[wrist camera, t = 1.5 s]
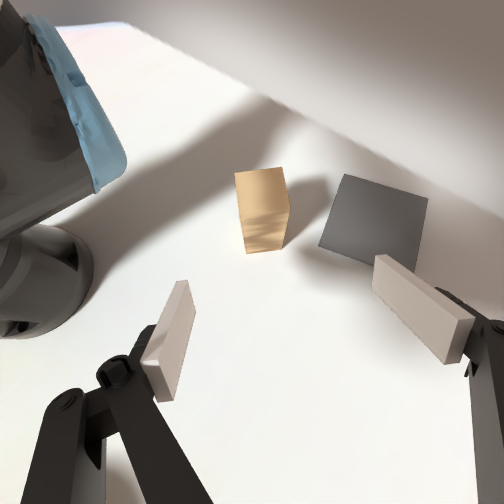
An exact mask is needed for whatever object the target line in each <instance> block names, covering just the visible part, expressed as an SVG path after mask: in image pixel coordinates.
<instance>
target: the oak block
mask: <svg viewBox="0 0 504 504" xmlns="http://www.w3.org/2000/svg"><path fill="white" fill-rule="evenodd" d="M234 175H235V183H236V192H237V200H238V208H239V216H240V222H241V227H242V233H243V239H244V244H245V250H246V254H251V253H258V252H266V251H274V250H282V245H283V241H284V236H285V232H286V227H287V223H288V218H289V214H290V209H291V207H290V203H289V198H288V193H287V188H286V184H285V179H284V174H283V169H282V167H277V168H269V169H261V170H253V171H246V172H238V173H234Z"/></svg>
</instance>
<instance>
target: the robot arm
mask: <svg viewBox="0 0 504 504" xmlns="http://www.w3.org/2000/svg"><path fill="white" fill-rule="evenodd" d="M126 166H127V157H126V154H125V151H124V149H123V147H122V145H121V142H120V140H119V138H118V136H117V134H116V132H115V131H114V129H113V127H112V125H111V123H110V121H109V119H108V117H107V116H106V114H105V112H104V110H103V108H102V106H101V105H100V103H99V101H98V99H97V98H96V96H95V94H94V92H93V91H92V89H91V87H90V86H89V85H88V83H87V82H86V81H85V77H84V76H83V74H82V72H81V71H80V69H79V67H78V65H77V63H76V61H75V59H74V58H73V56H72V54H71V53H70V51H69V49H68V48H67V46H66V44H65V43H64V41H63V39H62V38H61V36H60V35H59V33H58V32H57V30H56V29H55V27H54V26H53V25H52V24H51V22H50V21H49V20H48V19H47V18H46V17H44V16H41V15H32V14H30V13H28V14H26V15H24V16H23V19H22V18H21V17H20V16H19V14H18V13H17V12H16V10H15V9H14V8H13V6H12V5H11V4H10V2H9V1H8V0H0V339H28V338H33V337H37V336H40V335H42V334H45V333H47V332H49V331H51V330H53V329H54V328H56V327H58V326H59V325H60V324H62V323H63V322H64V321H66V320H67V319H68V318H69V317H70V316H71V315H72V314H73V313H74V312H75V311H76V309H77V308H78V307H79V306H80V304H81V303H82V301H83V300H84V298H85V296H86V294H87V292H88V290H89V287H90V284H91V281H92V276H93V260H92V256H91V253H90V251H89V249H88V247H87V246H86V244H85V243H84V242H83V241H82V240H80V239H79V238H78V237H76V236H74V235H72V234H70V233H69V232H67V231H65V230H63V229H60V228H57V227H53V226H48V225H42V224H38V223H40V222H41V221H43V220H45V219H47V218H49V217H51V216H52V215H54V214H56V213H58V212H60V211H62V210H63V209H65V208H67V207H69V206H71V205H73V204H74V203H76V202H78V201H80V200H82V199H83V198H85V197H87V196H89V195H91V194H93V193H94V194H97V193H98V192H99V191H100V189H101V188H102V187H104V186H105V185H107V184H108V183H110V182H112V181H113V180H115V179H116V178H118V177H120V176H121V175H122V174H123V173H124V172H125V170H126ZM372 290H373V291H374V292H375V293H376V294H377V295H378V296H379V297H380V298H381V299H382V300H383V301H384V303H385V304H386V305H387V306H388V307H389V308H390V309H391V310H392V311H393V312H394V313H395V314H396V315H397V316H398V317H399V318H400V319H401V320H402V321H403V322H404V323H405V324H406V326H407V327H408V328H409V329H410V330H411V331H412V332H413V333H414V334H415V335H416V336H417V337H418V338H419V339H420V340H421V341H422V342H423V343H424V344H425V345H426V346H427V347H428V349H429V350H430V351H431V352H432V353H433V354H434V355H435V356H436V357H437V358H438V359H439V360H440V361H441V362H442V363H443V364H444V365H446V364H453V363H460V360H461V358H462V355H463V353H464V354H465V355H466V356H467V357H468V358H469V359H470V361H469V364H468V366H467V369H466V372H465V375H464V377H467V376H468V374H469V384H470V397H471V411H472V425H473V438H474V452H475V465H476V479H477V492H478V504H504V321H500V320H489V319H488V318H486V317H485V316H483V315H482V314H480V313H479V312H477V311H476V310H474V309H473V308H471V307H470V306H468V305H467V304H465V303H463V302H462V301H461V300H460V299H457V297H455V296H454V295H452V294H451V293H449V292H448V291H445V290H443V289H440V288H438V287H434V288H433V287H432V286H430V285H429V284H428V283H426V282H425V281H423V280H422V279H421V278H419V277H418V276H416V275H415V274H414V273H412V272H411V271H409V270H408V269H406V268H405V267H404V266H402V265H401V264H399V263H398V262H397V261H395V260H394V259H392V258H391V257H390V256H388V255H387V254H384V255H376V256H375V263H374V272H373V280H372ZM195 314H196V310H195V306H194V302H193V299H192V295H191V291H190V287H189V284H188V280H183V281H176V283H175V286H174V288H173V290H172V292H171V294H170V297H169V299H168V301H167V303H166V305H165V307H164V310H163V312H162V314H161V316H160V318H159V321H158V323H157V324H155V325H148V326H147V327H146V328H145V329H144V330H143V331H142V332H141V333H140V335H139V337H138V339H137V341H136V343H135V345H134V348H132V350H131V352H130V354H129V356H127V355H117V356H114V357H112V358H110V359H109V360H107V361H106V362H104V363H103V364H102V365H101V366H100V367H99V369H98V371H97V373H96V378H97V380H98V382H99V384H100V386H101V387H100V388H98V389H95V390H93V391H90V392H88V393H84V392H83V390H82V389H80V388H73V389H69V390H67V391H65V392H63V393H61V394H60V395H59V396H57V397H56V398H55V399H54V400H53V401H52V402H51V403H50V404H49V405H48V407H47V409H46V411H45V413H44V417H43V421H42V424H41V428H40V432H39V436H38V439H37V443H36V447H35V451H34V454H33V458H32V462H31V466H30V469H29V473H28V477H27V481H26V484H25V488H24V492H23V496H22V499H21V503H20V504H105V500H106V437H109V436H111V435H113V434H115V433H117V432H119V433H120V435H121V438H122V441H123V443H124V446H125V448H126V451H127V454H128V456H129V459H130V462H131V464H132V467H133V470H134V472H135V475H136V477H137V480H138V483H139V485H140V488H141V491H142V493H143V496H144V498H145V501H146V504H213V502H212V500H211V498H210V497H209V495H208V493H207V492H206V490H205V488H204V486H203V485H202V483H201V481H200V480H199V478H198V476H197V474H196V473H195V471H194V469H193V468H192V466H191V464H190V462H189V461H188V459H187V457H186V456H185V454H184V452H183V450H182V449H181V447H180V445H179V444H178V442H177V440H176V439H175V437H174V435H173V433H172V432H171V430H170V428H169V427H168V425H167V423H166V421H165V420H164V418H163V416H162V415H161V413H160V411H159V409H158V408H157V406H156V404H155V403H154V401H153V397H154V396H155V398H156V400H157V402H158V403H159V402H167V401H174V397H175V393H176V389H177V385H178V381H179V377H180V373H181V369H182V365H183V361H184V357H185V353H186V349H187V345H188V341H189V337H190V334H191V330H192V326H193V322H194V318H195Z"/></svg>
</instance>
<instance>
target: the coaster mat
mask: <svg viewBox="0 0 504 504" xmlns="http://www.w3.org/2000/svg"><path fill="white" fill-rule="evenodd" d="M427 203H428V198H425V197H421V196H418V195H414V194H411V193H408V192H404V191H401V190H398V189H394V188H391V187H388V186H384V185H381V184H378V183H374V182H371V181H368V180H364V179H361V178H358V177H354V176H351V175H347V174H344V176H343V178H342V180H341V183H340V186H339V188H338V191H337V194H336V197H335V200H334V203H333V206H332V208H331V211H330V214H329V217H328V220H327V223H326V226H325V228H324V231H323V234H322V237H321V240H320V243H319V245H318V246H320V247H323V248H325V249H328V250H331V251H334V252H336V253H339V254H342V255H345V256H348V257H350V258H353V259H356V260H359V261H362V262H364V263H367V264H370V265H373V266H374V263H375V256H376V255H384V254H387V255H388V256H390V257H391V258H392V259H394V260H395V261H397V262H398V263H399V264H401V265H402V266H404V267H405V268H406V269H408V270H409V271H411V272H412V273H414V270H415V265H416V260H417V255H418V250H419V245H420V239H421V234H422V229H423V224H424V219H425V214H426V208H427Z"/></svg>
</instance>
